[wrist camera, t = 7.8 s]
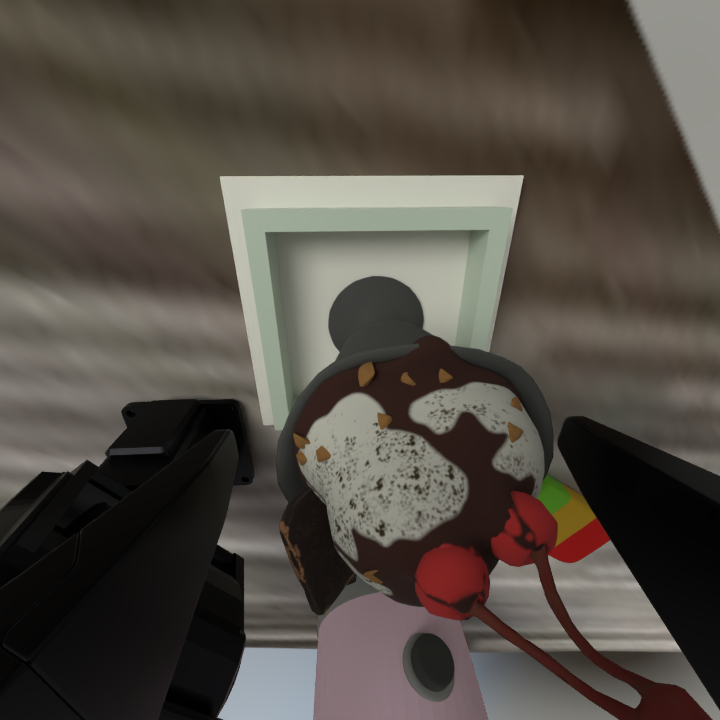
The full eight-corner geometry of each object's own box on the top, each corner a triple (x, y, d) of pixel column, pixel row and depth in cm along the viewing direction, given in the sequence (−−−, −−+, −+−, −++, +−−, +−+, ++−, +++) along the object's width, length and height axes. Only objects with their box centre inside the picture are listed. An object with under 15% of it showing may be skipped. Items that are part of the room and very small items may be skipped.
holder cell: (473, 412, 20) (489, 439, 18) (265, 420, 20) (255, 448, 18) (518, 176, 15) (550, 172, 12) (223, 177, 14) (201, 173, 12)
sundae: (453, 263, 16) (1120, 656, 2) (424, 382, 19) (640, 860, 5) (315, 247, 15) (101, 667, 2) (308, 374, 18) (213, 892, 5)
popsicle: (557, 547, 28) (571, 569, 27) (428, 481, 24) (434, 503, 22) (610, 510, 26) (629, 531, 25) (480, 431, 22) (492, 450, 20)
